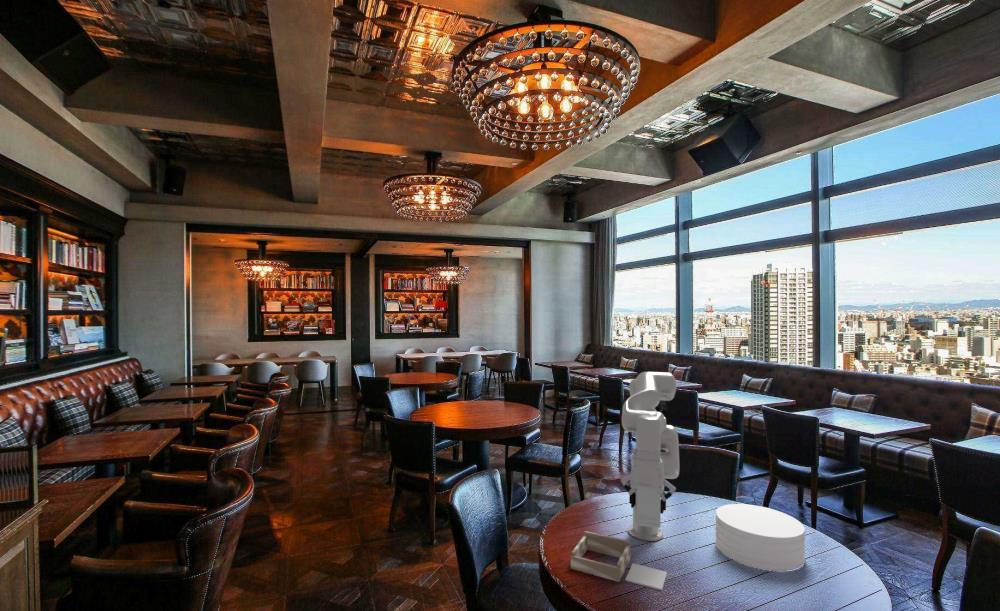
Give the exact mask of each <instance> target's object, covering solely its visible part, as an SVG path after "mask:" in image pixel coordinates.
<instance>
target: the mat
mask: <svg viewBox="0 0 1000 611" xmlns="http://www.w3.org/2000/svg"><path fill="white" fill-rule="evenodd" d="M628 570H629V571H628V573H627V575H626V577H625V582H628V583H631V584H636V585H639V586H643V587H647V588H650V589H654V590H659V591H663V589H664V585H665V582H666V579H667V576H668V571H665V570H661V569H656V568H652V567H649V566H646V565H641V564H637V563H634V562H633V563H632V564H631V567H630V569H628Z"/></svg>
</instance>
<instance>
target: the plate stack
mask: <svg viewBox="0 0 1000 611" xmlns="http://www.w3.org/2000/svg"><path fill="white" fill-rule="evenodd" d="M805 534H806V529H805V525H804V524H803V523H802V522H801V521H799V520H798V519H796V518H795V517H793V516H791V515H789V514H787V513H785V512H782V511H779V510H776V509H773V508H770V507H766V506H760V505H755V504H747V503H746V504H745V503H728V504H724V505H721V506H718V508H716V510H715V546H717V547H716V548H717V549H718V551H719V550H720V551H721V552H722V553H721V552H720V551H719V552H720V553H721V554H723V555H724V556H725V555H726V557H727V558H728V557H729V559H730V558H731V559H730V560H732V559H733V560H732V561H734V560H735V561H734V562H736V561H737V562H736V563H738V562H739V563H738V564H740V565H743V564H744V566H746V567H749V568H752V567H753V569H756V568H758V569H757V570H760V569H763V570H762V571H765V570H773V571H787V570H793V569H796V568H799V567H801V566H802V565H803V564H804V562H805V561H806V558H805V557H806V550H805V548H806V544H805V542H806V535H805ZM804 565H805V564H804Z"/></svg>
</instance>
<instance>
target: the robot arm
mask: <svg viewBox="0 0 1000 611" xmlns="http://www.w3.org/2000/svg"><path fill="white" fill-rule="evenodd" d="M628 388H629V397H628V398H627V399H626V400H625V401H624V403H623V405H622V412H621V413H622V414H621V426H622V428H623V429H624V431H626V432H629V433H635V441H636V442H635V443H636V444H635V448H631V451H630V452H631V458H630V459H631V460H630V462H631V463H630V464H631V470H630V474H628V475H626V476H624V477H622V478H620V482H621V484H622V485H623V487H624V489H625V491H626V492H627V493H628V495H629V501H628V502H629V504H630V508H631V509H632V525H629V526H628V533H629V535H630V536H632V537H634V538H636V539H638V540H641V541H647V542H656V541H660V540H662V538H663V537H664V533H663V530H661V529H660V528H656V527H646V526H638V525H636V520H635V490H637V484H641V485H648V486H652V487H656V488H657V494H661V513H660V515H661V514H662V515H663V514H664V511H667V500H668V499H670V498H671V497H672V496H673V495H674V493H675V492H676V491H677V488H676V486H674V485H673V484H672V483H671V482H669V481H668V480H667V479H669V480H674V479H677V478H678V477H679V476H680V448H679V446H680V445H679V443H680V442H679V434H678V431H677V429H676V427H675V426H673V425H671V424H667V418H666V417H665V415H664V414H663V413H662V412H661V411H657V409H656V407H658V406H659V404H660V402H661V401H664V402H665V401H667V402H670V401H672V400H673V399H674V398H675V395H676V392H677V381H676V377H675V375H674V374H672V373H670V372H666V371H665V372H664V371H642V372H640V373H639V374H638V375H637V377H636V378H633V379H631V381H630V382H629V387H628ZM661 450H662V451H661ZM663 450H664V451H663ZM628 481H630V484H629V483H628ZM665 487H666V488H668V489H669V491H667V492H665Z"/></svg>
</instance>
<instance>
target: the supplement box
mask: <svg viewBox="0 0 1000 611" xmlns="http://www.w3.org/2000/svg"><path fill="white" fill-rule="evenodd" d="M635 520H636V525H638V526H646V527H656V528H659V529H660V528H661V494H657V488H656V487H652V486H648V485H641V484H637V490H635Z"/></svg>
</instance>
